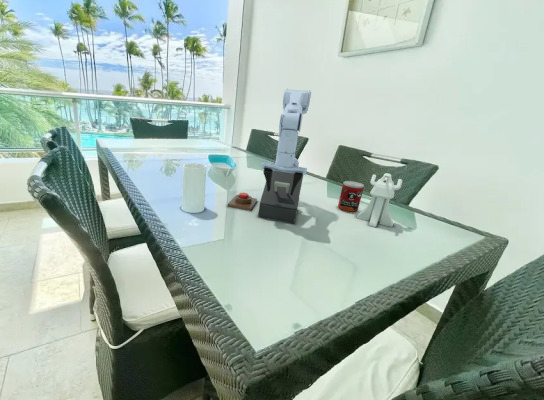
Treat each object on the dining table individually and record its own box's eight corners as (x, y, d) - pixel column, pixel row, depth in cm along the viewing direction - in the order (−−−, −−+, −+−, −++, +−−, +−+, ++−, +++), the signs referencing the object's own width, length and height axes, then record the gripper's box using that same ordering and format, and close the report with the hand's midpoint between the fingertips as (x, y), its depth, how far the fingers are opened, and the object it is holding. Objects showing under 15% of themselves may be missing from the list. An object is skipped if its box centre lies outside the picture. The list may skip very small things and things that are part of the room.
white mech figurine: (353, 222, 99) (366, 174, 93) (359, 212, 109) (371, 168, 103) (391, 232, 93) (407, 181, 87) (393, 221, 103) (407, 174, 97)
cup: (186, 214, 94) (187, 169, 89) (178, 205, 101) (179, 163, 96) (207, 211, 98) (210, 168, 93) (199, 203, 105) (200, 162, 99)
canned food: (337, 210, 109) (343, 184, 106) (337, 204, 117) (343, 179, 113) (358, 214, 107) (365, 187, 103) (357, 208, 114) (363, 182, 110)
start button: (240, 195, 110) (240, 192, 109) (248, 197, 109) (249, 193, 108) (237, 198, 106) (238, 194, 106) (246, 199, 105) (247, 196, 105)
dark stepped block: (265, 203, 111) (267, 192, 109) (297, 209, 107) (299, 197, 106) (258, 217, 97) (259, 204, 95) (294, 224, 93) (296, 211, 92)
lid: (269, 171, 105) (269, 160, 100) (303, 176, 101) (304, 165, 97) (259, 204, 95) (259, 194, 91) (296, 210, 92) (298, 200, 88)
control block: (236, 197, 115) (236, 190, 114) (256, 201, 113) (257, 194, 112) (227, 206, 104) (228, 199, 103) (250, 211, 102) (251, 203, 101)
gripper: (261, 150, 85) (256, 192, 90) (309, 156, 81) (301, 199, 86) (265, 148, 91) (260, 186, 96) (309, 153, 87) (302, 193, 92)
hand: (279, 192), depth 91 cm, fingers open, 7 cm apart
